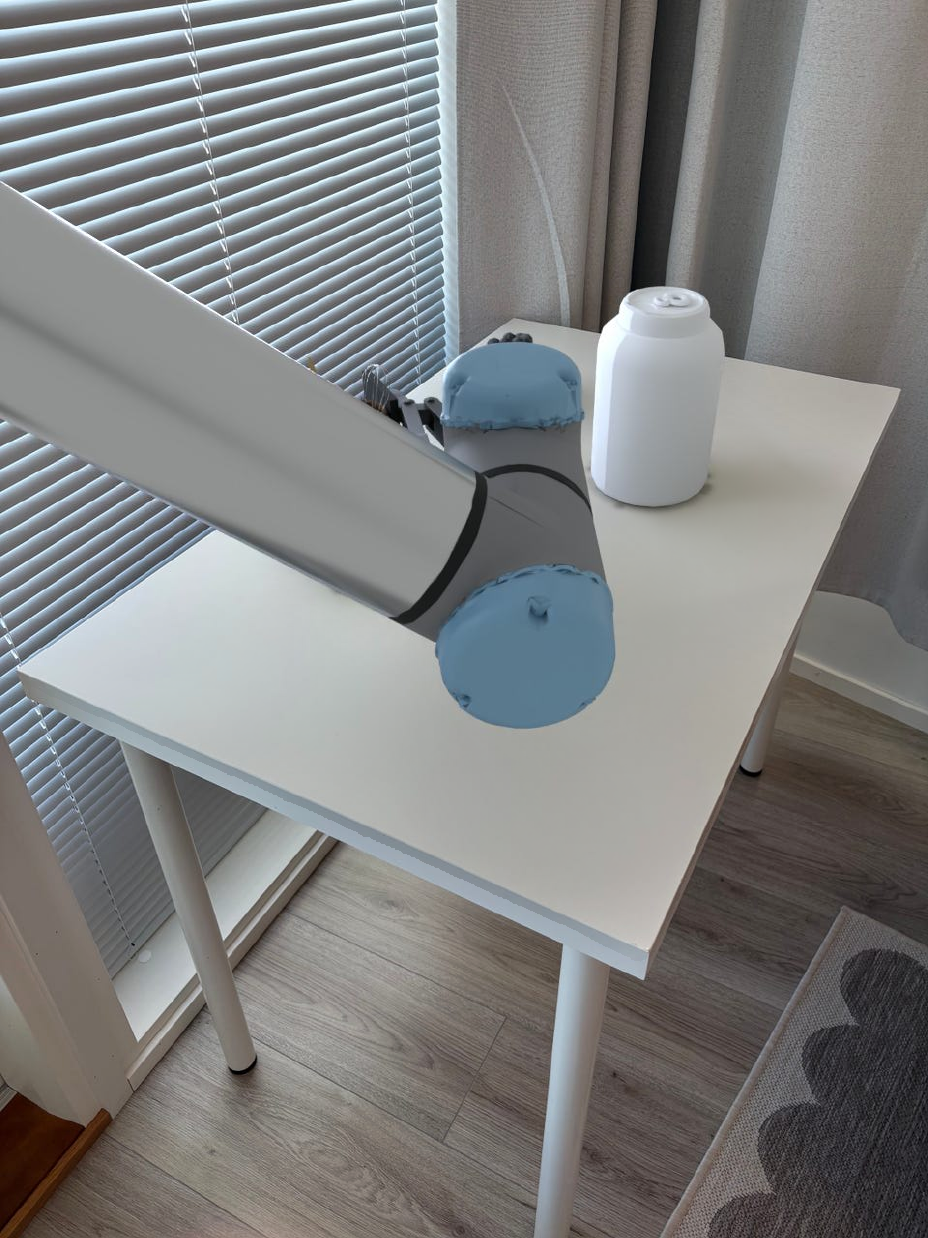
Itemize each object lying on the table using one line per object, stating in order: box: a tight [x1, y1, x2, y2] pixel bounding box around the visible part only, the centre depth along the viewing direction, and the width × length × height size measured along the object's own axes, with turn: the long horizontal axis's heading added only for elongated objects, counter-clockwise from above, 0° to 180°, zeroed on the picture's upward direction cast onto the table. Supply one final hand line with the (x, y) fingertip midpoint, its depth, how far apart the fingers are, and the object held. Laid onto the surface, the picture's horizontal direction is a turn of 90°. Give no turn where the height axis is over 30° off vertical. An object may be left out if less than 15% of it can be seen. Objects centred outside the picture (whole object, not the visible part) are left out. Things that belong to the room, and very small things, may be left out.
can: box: [590, 285, 726, 508], centre depth 97 cm, size 12×12×20 cm
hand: (336, 392), depth 83 cm, fingers closed on utensil holder, 5 cm apart
